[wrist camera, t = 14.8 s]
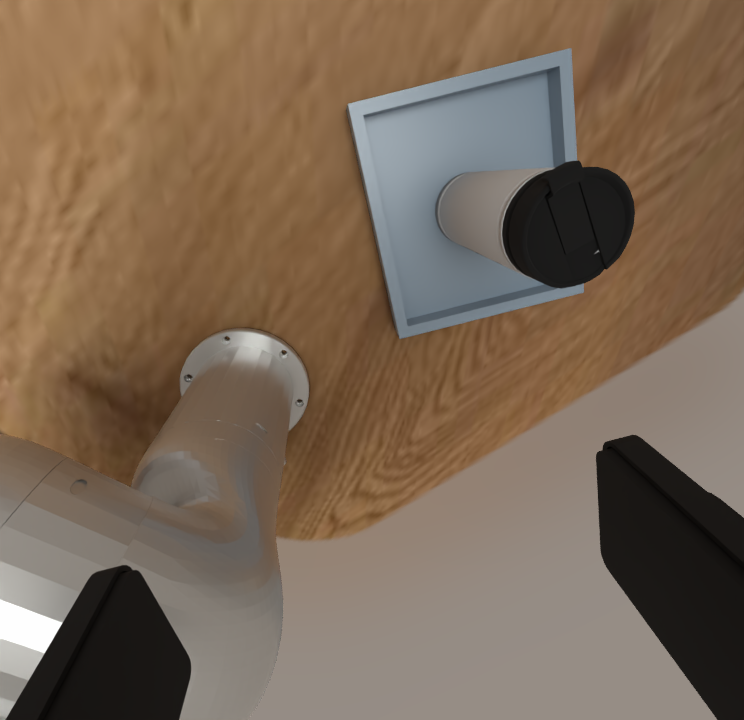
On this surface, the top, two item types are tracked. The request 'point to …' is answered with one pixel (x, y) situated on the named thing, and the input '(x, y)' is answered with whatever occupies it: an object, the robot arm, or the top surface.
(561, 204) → the travel mug
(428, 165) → the tray
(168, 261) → the top surface
